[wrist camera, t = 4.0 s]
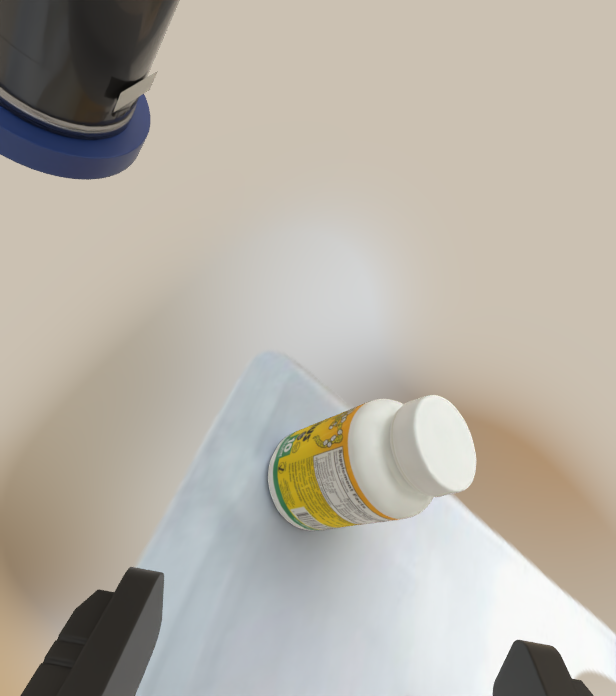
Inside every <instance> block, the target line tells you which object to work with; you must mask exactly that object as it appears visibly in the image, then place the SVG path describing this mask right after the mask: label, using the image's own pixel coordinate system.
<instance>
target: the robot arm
mask: <svg viewBox="0 0 616 696" xmlns="http://www.w3.org/2000/svg"><path fill="white" fill-rule="evenodd" d="M178 3H179V0H0V105H1V106H2V107H4V108H5V109H6V110H8V111H9V112H11V113H12V114H14V115H16V116H17V117H19V118H21V119H23V120H24V121H26V122H28V123H30V124H32V125H34V126H36V127H39V128H41V129H43V130H46V131H49V132H51V133H54V134H58V135H61V136H65V137H69V138H75V139H82V140H101V139H106V138H110V137H113V136H115V135H117V134H119V133H121V132H122V131H123V130H124V129H125V128H126V127H127V126H128V124H129V122H130V120H131V118H132V115H133V113H134V111H135V108H136V104H137V101H138V99H139V96H141V95H142V94H144V93H145V92H147V91H149V90H150V87H151V85H152V83H153V81H154V78H155V76H156V74H157V72H155V73H154V74H152V75H150V76H149V77H147V76H148V74H149V71H150V69H151V67H152V64H153V61H154V59H155V57H156V54H157V52H158V50H159V48H160V45H161V43H162V41H163V38H164V36H165V34H166V31H167V28H168V26H169V24H170V21H171V19H172V17H173V15H174V12H175V10H176V8H177V5H178ZM163 588H164V574H163V573H161V572H156V571H150V570H145V569H140V568H134V567H130V568H129V569H128V570H127V572H126V573H125V575H124V576H123V578H122V580H121V582H120V583H119V585H118V587H117V589H116V591H115V592H109V591H104V590H97V591H96V592H95V593H94V594H93V595H91V596H90V597H89V598H88V599H87V600H86V601H84V602H83V603H82V604H81V605H80V606H79V607H77V608H76V609H75V611H74V612H73V614H72V615H71V617H70V619H69V620H68V621H67V623H66V625H65V627H64V628H63V629H62V631H61V633H60V634H59V637H58V639H57V641H55V642H54V644H53V645H52V647H51V648H50V650H49V652H48V653H47V655H46V656H45V659H44V662H43V663H41V665H40V666H39V667H38V669H37V670H36V672H35V674H34V675H33V677H32V678H31V680H30V682H29V683H28V685H27V686H26V688H25V689H24V691H23V693H22V694H21V696H135V694H136V692H137V689H138V687H139V684H140V682H141V680H142V677H143V675H144V672H145V670H146V667H147V665H148V662H149V660H150V657H151V655H152V653H153V650H154V647H155V645H156V641H157V638H158V635H159V631H160V627H161V621H162V607H163ZM493 696H593V694H592V693H591V692H590V691H589V690H588V688H587V687H586V686H585V685H584V684H583V682H582V681H581V680H575V679H572V678H571V676H570V674H569V672H568V670H567V668H566V666H565V663H564V661H563V659H562V657H561V655H560V654H559V652H558V651H557V650H556V649H555V648H554V647H553V646H550V645H544V644H539V643H533V642H528V641H522V640H516V641H515V642H514V643H513V644H512V647H511V649H510V651H509V653H508V655H507V657H506V659H505V661H504V663H503V665H502V667H501V669H500V672H499V674H498V676H497V678H496V680H495V682H494V687H493Z"/></svg>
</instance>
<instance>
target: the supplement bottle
mask: <svg viewBox="0 0 616 696" xmlns="http://www.w3.org/2000/svg"><path fill="white" fill-rule="evenodd" d="M475 471H476V454H475V448H474V444H473V440H472V436H471V433H470V431H469V429H468V427H467V424H466V422H465V421H464V419H463V417H462V416H461V414H460V413H459V411H458V410H457V409H456V408H455V407H454V405H453V404H451V403H450V402H449V401H448V400H446V399H445V398H443V397H440V396H437V395H429V396H425V397H422V398H419V399H415V400H413V401H409V402H407V403H405V404H402V403H400V402H398V401H394V400H391V399H377V400H373V401H370V402H367V403H364V404H362V405H360V406H357V407H355V408H353V409H350V410H348V411H345V412H343V413H341V414H338V415H336V416H333V417H331V418H328V419H325V420H324V421H321V422H318V423H316V424H313V425H311V426H309V427H306V428H304V429H301V430H299V431H296V432H294V433H292V434H290V435H288V436H287V437H285V438H284V439H283V440H282V441H281V442H280V443H279V445H278V446H277V448H276V450H275V452H274V454H273V456H272V458H271V460H270V464H269V470H268V483H269V490H270V493H271V497H272V499H273V501H274V504H275V506H276V508H277V510H278V511H279V512H280V514H281V515H282V516H283V517H284V518H285V519H286V520H287V521H288V522H289V523H291V524H292V525H294V526H296V527H298V528H300V529H303V530H309V531H316V530H326V529H333V528H340V527H346V526H353V525H361V524H369V523H377V522H385V521H393V520H399V519H406V518H410V517H413V516H415V515H417V514H419V513H421V512H422V511H423V510H424V509H425V508H426V507H427V506H428V505H429V504H430V502H431V501H432V499H433V497H441V496H444V495H448V494H453V493H458V492H461V491H464V490H465V489H467V488H468V487H469V486H470V484H471V483H472V481H473V479H474V475H475Z"/></svg>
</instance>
